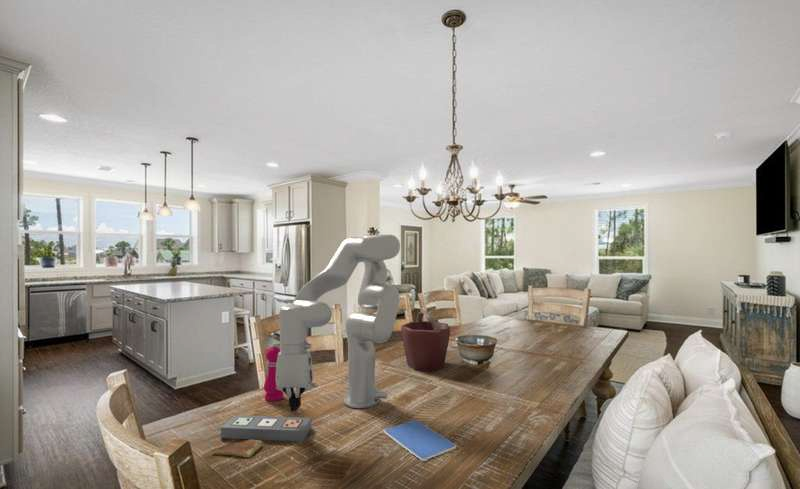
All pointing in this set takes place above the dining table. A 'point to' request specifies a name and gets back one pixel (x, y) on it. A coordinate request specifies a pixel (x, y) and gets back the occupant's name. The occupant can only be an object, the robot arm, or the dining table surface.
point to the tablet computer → (419, 439)
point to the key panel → (266, 429)
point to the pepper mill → (272, 375)
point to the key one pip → (267, 422)
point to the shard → (240, 448)
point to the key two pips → (242, 421)
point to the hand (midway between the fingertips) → (295, 409)
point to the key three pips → (292, 424)
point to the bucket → (425, 343)
